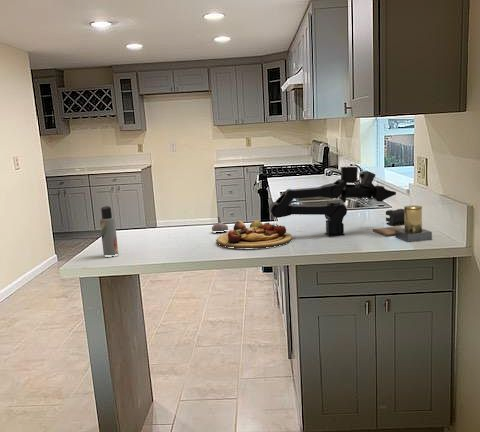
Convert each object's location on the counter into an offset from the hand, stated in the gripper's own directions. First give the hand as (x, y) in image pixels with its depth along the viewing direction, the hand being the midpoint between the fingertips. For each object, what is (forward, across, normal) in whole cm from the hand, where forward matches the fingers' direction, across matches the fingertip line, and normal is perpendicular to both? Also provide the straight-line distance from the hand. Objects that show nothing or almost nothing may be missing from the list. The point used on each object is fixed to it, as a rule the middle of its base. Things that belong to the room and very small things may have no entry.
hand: (391, 191), depth 209 cm
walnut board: (0, -5, +17) cm, 17 cm away
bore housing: (+3, -18, +16) cm, 24 cm away
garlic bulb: (-71, +25, +24) cm, 79 cm away
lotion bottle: (-116, -4, +28) cm, 120 cm away
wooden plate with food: (-58, +1, +23) cm, 62 cm away
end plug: (+3, -18, +16) cm, 24 cm away
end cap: (+10, +11, +16) cm, 22 cm away
